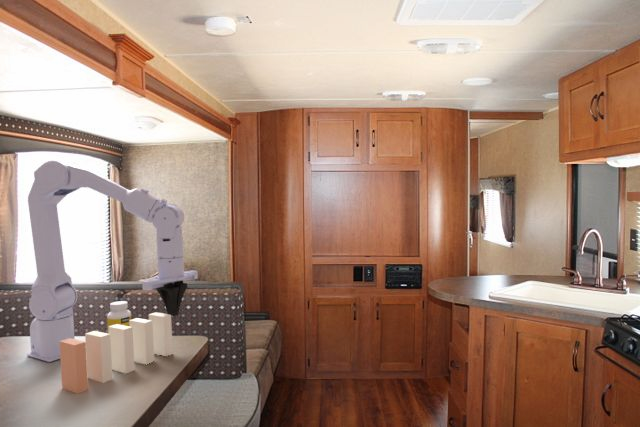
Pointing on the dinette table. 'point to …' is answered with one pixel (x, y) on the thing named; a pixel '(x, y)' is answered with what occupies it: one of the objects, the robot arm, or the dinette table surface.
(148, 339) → the domino
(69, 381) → the terracotta domino
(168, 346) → the domino
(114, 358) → the domino
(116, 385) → the dinette table surface
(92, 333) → the domino
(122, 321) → the supplement bottle
